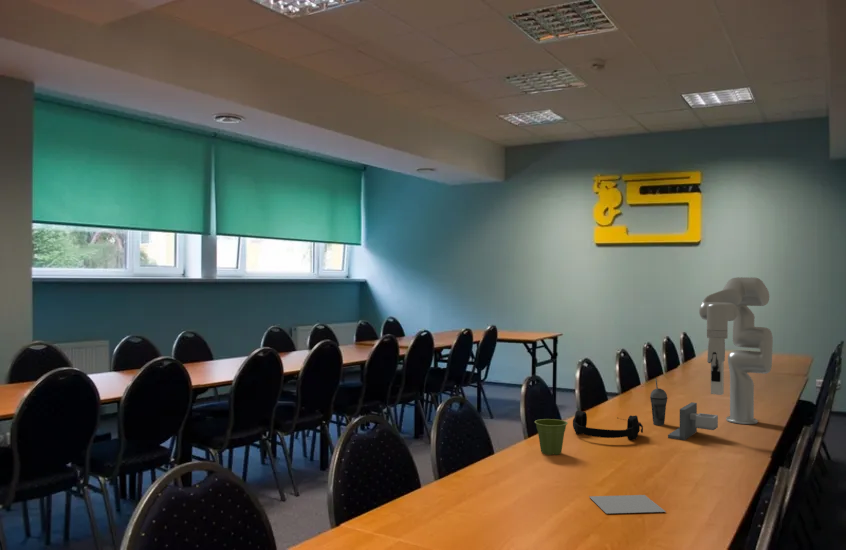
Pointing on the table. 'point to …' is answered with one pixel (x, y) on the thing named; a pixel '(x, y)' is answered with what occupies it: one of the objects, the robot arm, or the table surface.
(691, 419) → the bracket
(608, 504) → the grey flat square slab
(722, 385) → the rail
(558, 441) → the plant pot
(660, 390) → the beverage cup
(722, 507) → the table surface
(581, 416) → the headset
